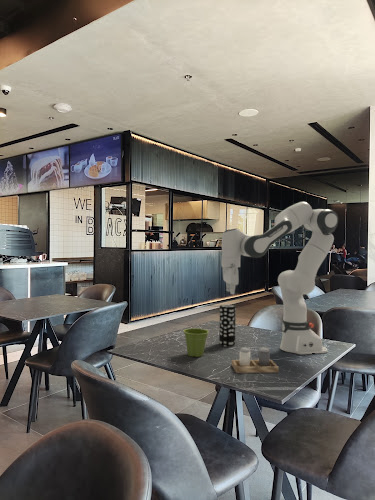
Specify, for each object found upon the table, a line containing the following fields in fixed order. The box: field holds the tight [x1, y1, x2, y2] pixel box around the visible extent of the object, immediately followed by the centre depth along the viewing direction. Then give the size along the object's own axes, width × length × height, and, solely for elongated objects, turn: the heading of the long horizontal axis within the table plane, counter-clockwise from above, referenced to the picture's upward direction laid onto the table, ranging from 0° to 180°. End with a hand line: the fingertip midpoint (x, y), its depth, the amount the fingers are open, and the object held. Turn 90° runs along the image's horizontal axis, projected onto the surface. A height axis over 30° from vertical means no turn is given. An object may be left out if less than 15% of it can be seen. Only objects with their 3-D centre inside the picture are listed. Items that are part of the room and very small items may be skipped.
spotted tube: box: [218, 304, 237, 348], centre depth 195 cm, size 8×8×20 cm
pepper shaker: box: [258, 347, 271, 367], centre depth 155 cm, size 4×4×8 cm
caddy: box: [231, 359, 280, 374], centre depth 155 cm, size 17×10×3 cm, turn 94°
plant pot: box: [183, 327, 209, 358], centre depth 176 cm, size 12×12×11 cm
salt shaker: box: [238, 347, 251, 367], centre depth 154 cm, size 4×4×8 cm
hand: (230, 292), depth 177 cm, fingers open, 8 cm apart
